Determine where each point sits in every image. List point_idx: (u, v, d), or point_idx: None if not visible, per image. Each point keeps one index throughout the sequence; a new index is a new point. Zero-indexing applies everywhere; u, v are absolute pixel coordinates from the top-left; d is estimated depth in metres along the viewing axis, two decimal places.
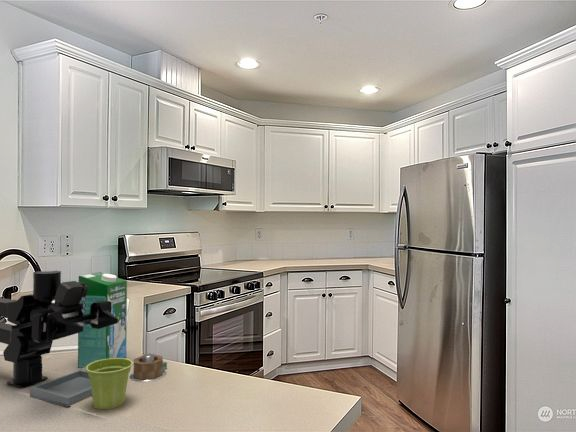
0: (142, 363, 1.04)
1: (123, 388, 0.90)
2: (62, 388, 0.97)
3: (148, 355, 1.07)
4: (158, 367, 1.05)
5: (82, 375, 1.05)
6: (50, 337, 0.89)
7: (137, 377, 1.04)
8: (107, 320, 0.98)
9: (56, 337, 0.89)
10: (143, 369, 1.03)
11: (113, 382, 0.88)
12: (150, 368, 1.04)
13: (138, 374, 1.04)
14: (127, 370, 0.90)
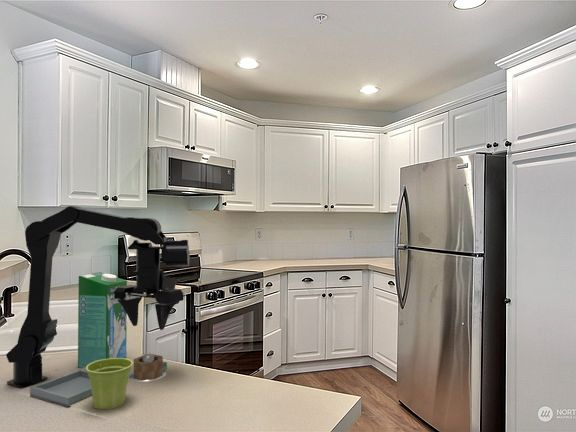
0: (142, 363, 1.04)
1: (123, 388, 0.90)
2: (62, 388, 0.97)
3: (148, 355, 1.07)
4: (158, 367, 1.05)
5: (82, 375, 1.05)
6: None
7: (137, 377, 1.04)
8: (134, 313, 1.09)
9: (161, 310, 1.02)
10: (143, 369, 1.03)
11: (113, 382, 0.88)
12: (150, 368, 1.04)
13: (138, 374, 1.04)
14: (127, 370, 0.90)
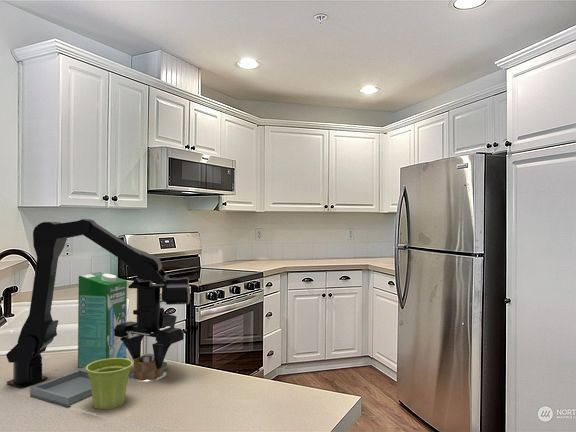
0: (142, 363, 1.04)
1: (123, 388, 0.90)
2: (62, 388, 0.97)
3: (148, 355, 1.07)
4: None
5: (82, 375, 1.05)
6: None
7: (137, 377, 1.04)
8: (136, 352, 1.08)
9: (158, 349, 1.03)
10: (143, 369, 1.03)
11: (113, 382, 0.88)
12: (150, 368, 1.04)
13: (138, 374, 1.04)
14: (127, 370, 0.90)
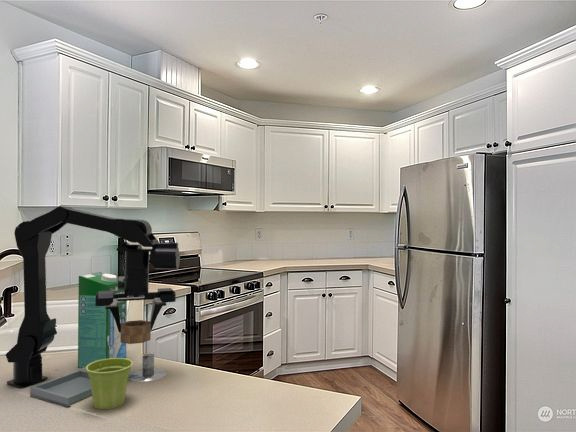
0: (140, 326, 1.03)
1: (123, 388, 0.90)
2: (62, 388, 0.97)
3: (148, 355, 1.07)
4: None
5: (82, 375, 1.05)
6: None
7: (135, 341, 1.02)
8: None
9: None
10: (143, 331, 1.03)
11: (113, 382, 0.88)
12: (148, 329, 1.05)
13: (137, 337, 1.02)
14: (127, 370, 0.90)
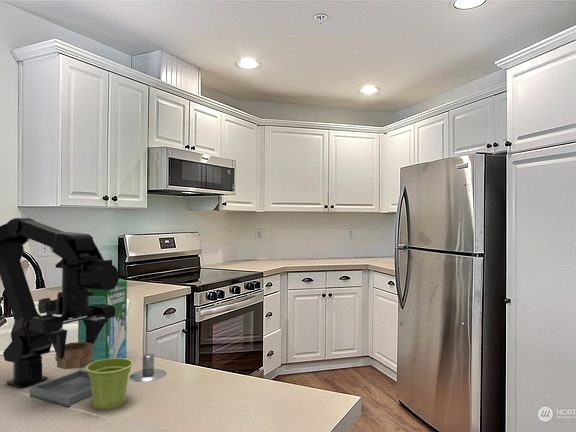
0: (87, 347, 0.97)
1: (123, 388, 0.90)
2: (62, 388, 0.97)
3: (148, 355, 1.07)
4: None
5: (82, 375, 1.05)
6: None
7: (84, 363, 0.96)
8: None
9: None
10: (90, 352, 0.98)
11: (113, 382, 0.88)
12: (91, 349, 0.99)
13: (86, 359, 0.97)
14: (127, 370, 0.90)
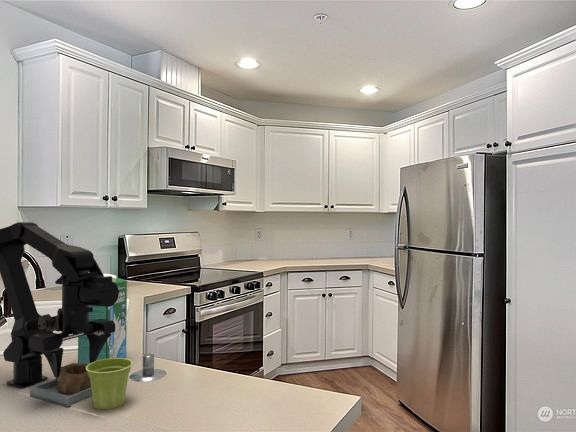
0: None
1: (123, 388, 0.90)
2: None
3: (148, 355, 1.07)
4: None
5: None
6: None
7: (84, 389, 0.96)
8: None
9: None
10: None
11: (113, 382, 0.88)
12: None
13: (87, 385, 0.96)
14: (127, 370, 0.90)
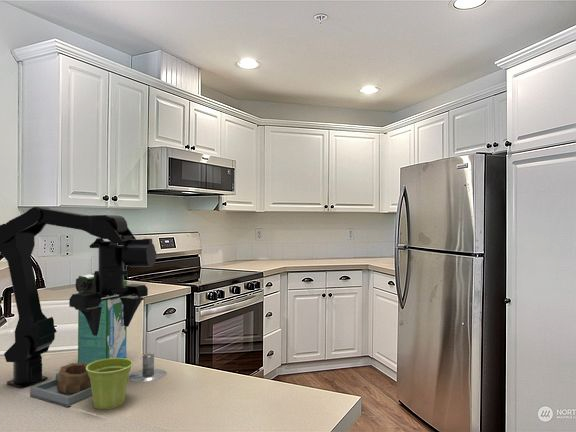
0: None
1: (123, 388, 0.90)
2: None
3: (148, 355, 1.07)
4: None
5: None
6: None
7: (84, 389, 0.96)
8: None
9: None
10: None
11: (113, 382, 0.88)
12: None
13: (87, 385, 0.96)
14: (127, 370, 0.90)
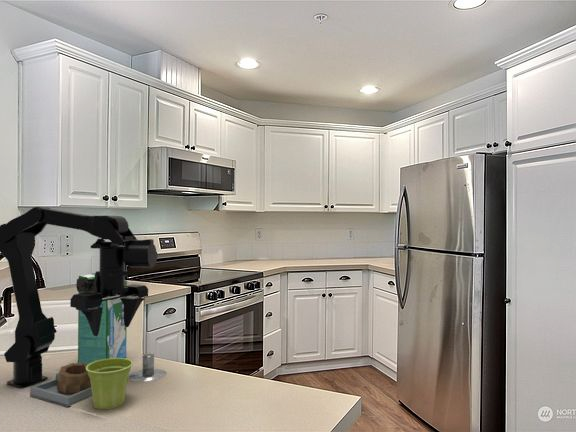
0: None
1: (123, 388, 0.90)
2: None
3: (148, 355, 1.07)
4: None
5: None
6: None
7: (84, 389, 0.96)
8: None
9: None
10: None
11: (113, 382, 0.88)
12: None
13: (87, 385, 0.96)
14: (127, 370, 0.90)
